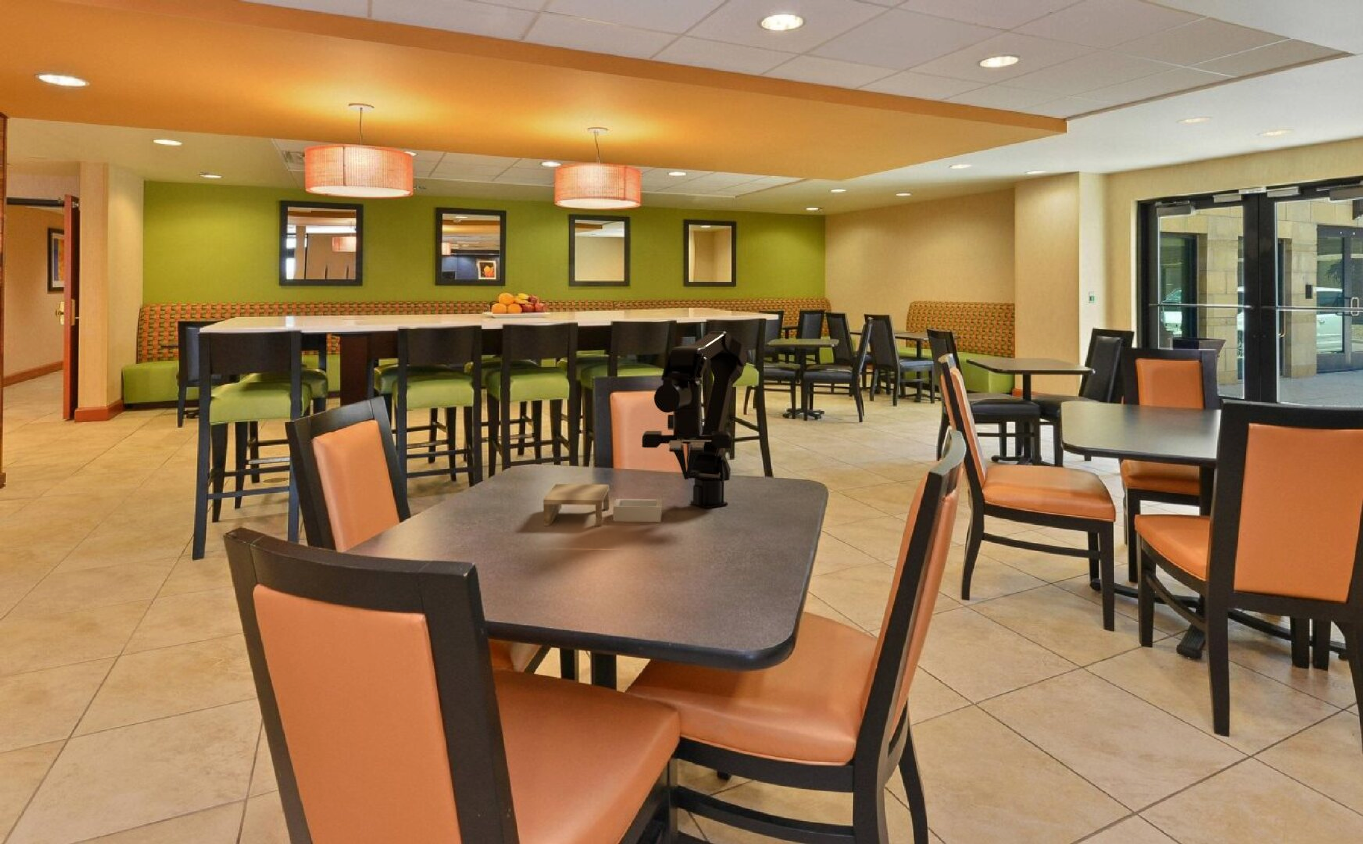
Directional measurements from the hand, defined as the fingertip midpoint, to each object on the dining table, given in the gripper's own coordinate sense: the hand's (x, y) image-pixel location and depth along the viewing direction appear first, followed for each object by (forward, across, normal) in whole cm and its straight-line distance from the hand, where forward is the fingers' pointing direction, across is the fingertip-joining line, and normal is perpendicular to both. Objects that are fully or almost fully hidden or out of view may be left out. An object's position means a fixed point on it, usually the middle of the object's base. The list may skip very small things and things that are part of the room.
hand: (686, 479), depth 166 cm
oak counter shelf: (+8, +24, 0) cm, 25 cm away
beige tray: (+9, +10, 0) cm, 14 cm away
